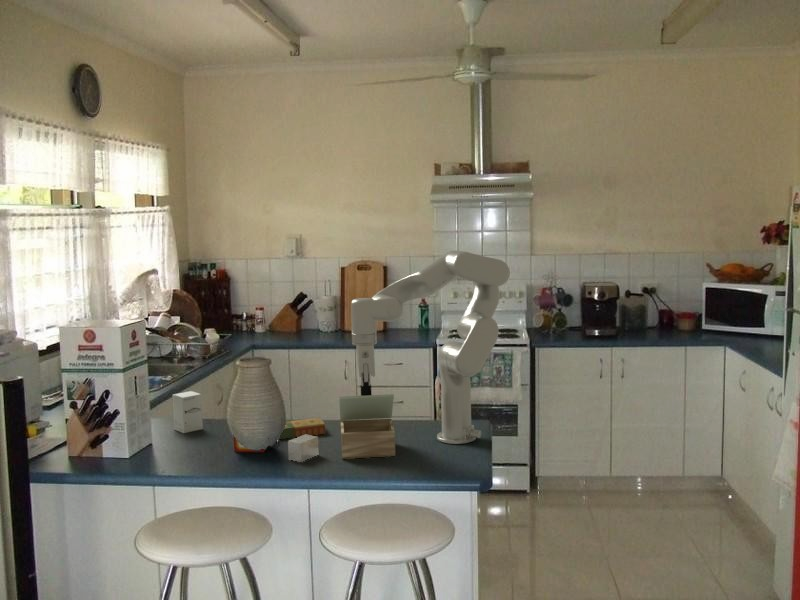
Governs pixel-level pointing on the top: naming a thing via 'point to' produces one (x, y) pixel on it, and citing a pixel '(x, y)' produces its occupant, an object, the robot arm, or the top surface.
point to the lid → (366, 407)
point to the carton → (303, 428)
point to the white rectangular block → (303, 448)
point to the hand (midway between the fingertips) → (366, 397)
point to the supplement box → (187, 411)
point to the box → (367, 438)
